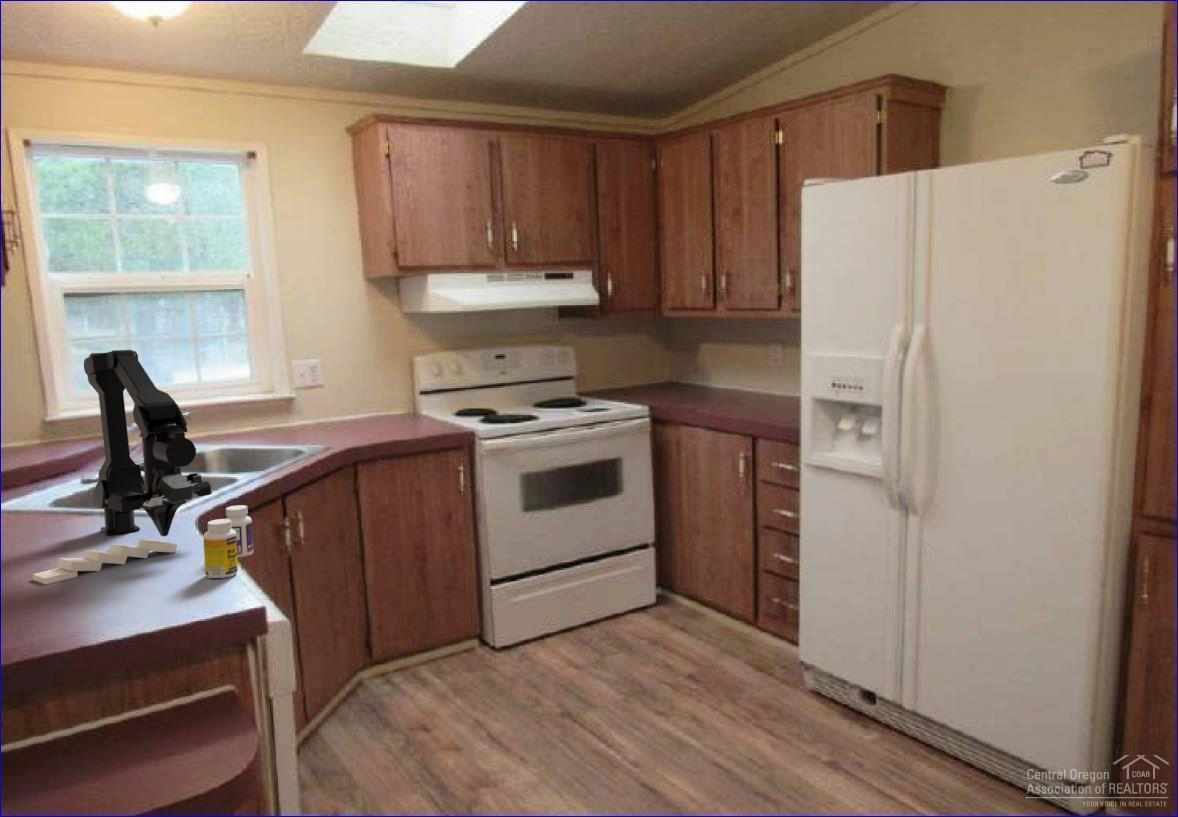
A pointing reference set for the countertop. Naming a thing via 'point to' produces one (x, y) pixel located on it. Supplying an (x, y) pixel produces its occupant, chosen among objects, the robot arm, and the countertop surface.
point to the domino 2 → (79, 564)
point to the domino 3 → (105, 557)
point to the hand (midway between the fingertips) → (164, 535)
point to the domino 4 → (128, 551)
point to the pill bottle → (241, 529)
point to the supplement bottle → (220, 549)
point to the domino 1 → (54, 575)
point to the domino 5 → (157, 546)
